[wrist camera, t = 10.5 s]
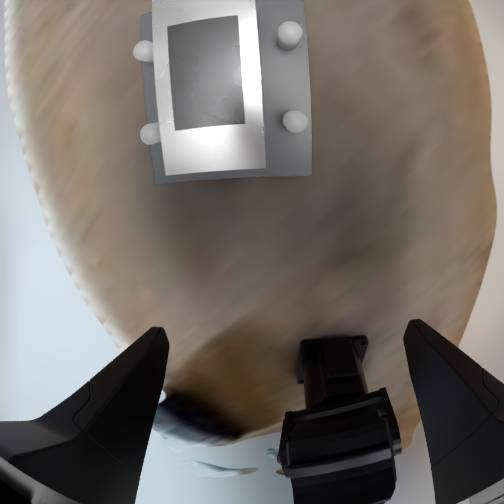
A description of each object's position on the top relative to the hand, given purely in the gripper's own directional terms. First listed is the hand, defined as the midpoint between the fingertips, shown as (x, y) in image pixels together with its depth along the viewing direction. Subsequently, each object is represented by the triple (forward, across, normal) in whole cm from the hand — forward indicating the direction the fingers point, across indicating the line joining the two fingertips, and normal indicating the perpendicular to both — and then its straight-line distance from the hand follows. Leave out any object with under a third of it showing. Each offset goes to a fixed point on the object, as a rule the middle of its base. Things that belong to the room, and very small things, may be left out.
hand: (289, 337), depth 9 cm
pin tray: (+11, +3, -9) cm, 15 cm away
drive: (+10, +3, -9) cm, 14 cm away
